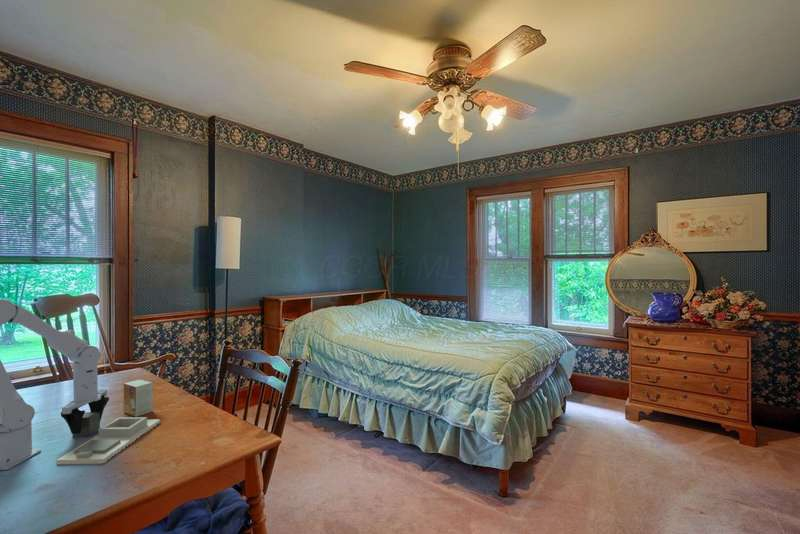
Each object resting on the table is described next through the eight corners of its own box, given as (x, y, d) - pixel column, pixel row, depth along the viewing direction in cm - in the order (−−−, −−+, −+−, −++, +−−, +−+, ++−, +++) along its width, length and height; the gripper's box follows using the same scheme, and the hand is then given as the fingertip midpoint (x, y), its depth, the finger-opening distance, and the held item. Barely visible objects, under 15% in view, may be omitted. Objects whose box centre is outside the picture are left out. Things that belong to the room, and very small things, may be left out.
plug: (89, 437, 110) (89, 417, 110) (68, 437, 110) (68, 417, 110) (99, 431, 114) (99, 412, 114) (79, 431, 114) (79, 412, 114)
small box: (123, 412, 128) (123, 383, 128) (140, 407, 133) (140, 378, 133) (135, 417, 124) (135, 387, 124) (153, 411, 129) (152, 382, 129)
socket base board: (103, 463, 96) (103, 449, 96) (56, 464, 96) (56, 450, 96) (160, 422, 120) (159, 411, 120) (122, 423, 120) (122, 412, 120)
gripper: (79, 392, 105) (80, 438, 105) (116, 376, 119) (117, 416, 120) (54, 392, 105) (54, 439, 105) (94, 376, 119) (95, 417, 120)
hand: (86, 427), depth 112 cm, fingers open, 7 cm apart
